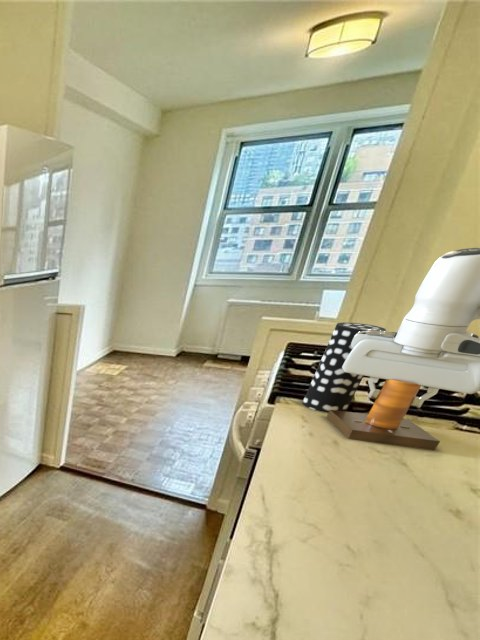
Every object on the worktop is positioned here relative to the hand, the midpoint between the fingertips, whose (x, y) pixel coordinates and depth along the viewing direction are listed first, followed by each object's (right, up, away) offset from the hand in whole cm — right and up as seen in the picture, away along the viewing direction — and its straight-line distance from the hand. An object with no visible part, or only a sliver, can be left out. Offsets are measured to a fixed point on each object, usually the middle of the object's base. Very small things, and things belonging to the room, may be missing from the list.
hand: (393, 402), depth 101 cm
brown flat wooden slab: (0, -7, +3) cm, 8 cm away
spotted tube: (+1, 0, +17) cm, 17 cm away
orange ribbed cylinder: (0, -5, +2) cm, 5 cm away
